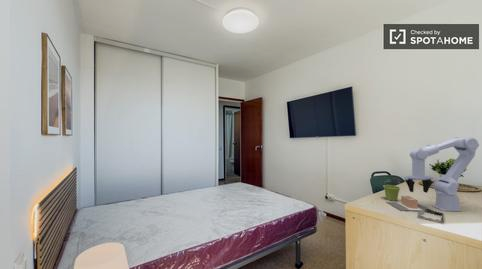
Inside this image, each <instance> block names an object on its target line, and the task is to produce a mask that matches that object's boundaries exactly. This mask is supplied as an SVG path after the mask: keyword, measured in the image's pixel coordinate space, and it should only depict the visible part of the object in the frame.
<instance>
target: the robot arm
mask: <svg viewBox="0 0 482 269" xmlns="http://www.w3.org/2000/svg"><path fill="white" fill-rule="evenodd" d="M479 146H480V144H479V142H478V139H476V138H474V137H452V138H450V139H448V140H446V141H444V142H440V143H439V144H431V143H429V144H427V145H426V146H424V147H419V148H418V149H416V148H415V149H412V150H411V152H410V153H409V156H410V158H411V162H412V164H411V167H412V168H411V170H412V171H411V174H412V175H404V176H403V180H404V182H405V183H406V184H407V187H408V189H409V192H411V193H414V190H415V189H414V187H415V181H421V182H422V188H423V190H422V191H423V192H424V193H425V194H426V193H427V194H428V192H429V189H430V188H431V186H432V189H433V190H435V204H432V205H431V206H432V207H433V208H436V209H438V210H441V211H446V212H462V211H461V209H460V204H461V203H460V202H461V201H460V197H459V196H458V195H457V192H458V188H459V187H460V185H459V183H458V180H459V179H460V177H461V176H462V174H463V173H464V171H465V170H466V169H467V167H468V166H469V165H470V163H471V162H472V160H473V159H474V157H475V156H476V150H477V149H478V148H479ZM452 147H453V148H454V149H455V150H456V152H457V153H458V154H459V155H457V158H456V159H455V161H454V162H453V164H452V165H451V166H450V167H449V169H448V170H447V172H446V173H445V174H444V176H442V177H439V178H438V179H437V180H435V181H434V177H432V176H426V170H425V169H426V160H427V159H428V157H431V156H434V155H437V154H439V152H440V151H442V150H446V149H450V148H452ZM433 181H434V182H433Z"/></svg>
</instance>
